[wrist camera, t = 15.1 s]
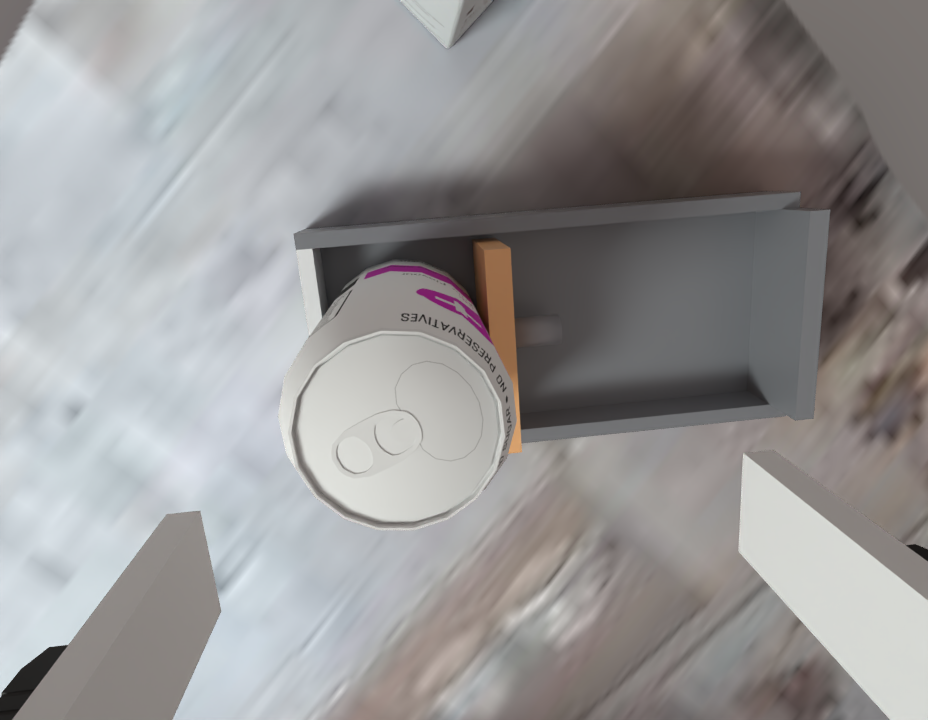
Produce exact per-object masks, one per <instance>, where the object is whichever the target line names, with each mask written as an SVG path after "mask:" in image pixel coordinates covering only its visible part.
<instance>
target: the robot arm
mask: <svg viewBox="0 0 928 720" xmlns="http://www.w3.org/2000/svg"><path fill="white" fill-rule="evenodd" d="M739 552H740V554H741V555H742V556H743V557H744V558H745V559H746V560H747V561H748V562H749V564H750V565H751V566H752V567H753V568H754V569H755V570H756V571H757V572H758V574H759V575H760V576H761V577H762V578H763V579H764V580H765V581H766V582H767V584H768V585H769V586H770V587H771V588H772V589H773V590H774V591H775V592H776V594H777V595H778V596H779V597H780V598H781V599H782V600H783V601H784V602H785V604H786V605H787V606H788V607H789V608H790V609H791V610H792V611H793V612H794V614H795V615H796V616H797V617H798V618H799V619H800V620H801V621H802V622H803V624H804V625H805V626H806V627H807V628H808V629H809V630H810V631H811V632H812V634H813V635H814V636H815V637H816V638H817V639H818V640H819V641H820V642H821V644H822V645H823V646H824V647H825V648H826V649H827V650H828V651H829V652H830V654H831V655H832V656H833V657H834V658H835V659H836V660H837V661H838V662H839V664H840V665H841V666H842V667H843V668H844V669H845V670H846V671H847V672H848V674H849V675H850V676H851V677H852V678H853V679H854V680H855V681H856V682H857V684H858V685H859V686H860V687H861V688H862V689H863V690H864V691H865V692H866V694H867V695H868V696H869V697H870V698H871V699H872V700H873V701H874V702H875V704H876V705H877V706H878V707H879V708H880V709H881V710H882V711H883V712H884V714H885V715H886V716H887V717H888V718H889V719H890V720H928V550H927V549H925V548H923V547H921V546H918V545H916V544H914V545H904V544H903V543H901V542H900V541H899V540H897V539H896V538H895V537H893V536H892V535H890V534H889V533H888V532H886V531H885V530H884V529H882V528H881V527H879V526H878V525H877V524H875V523H874V522H872V521H871V520H870V519H868V518H867V517H866V516H864V515H863V514H861V513H860V512H859V511H857V510H856V509H855V508H853V507H852V506H850V505H849V504H848V503H846V502H845V501H843V500H842V499H841V498H839V497H838V496H837V495H835V494H834V493H832V492H831V491H830V490H828V489H827V488H825V487H824V486H823V485H821V484H820V483H819V482H817V481H816V480H814V479H813V478H812V477H810V476H809V475H808V474H806V473H805V472H803V471H802V470H801V469H799V468H798V467H796V466H795V465H794V464H792V463H791V462H790V461H788V460H787V459H785V458H784V457H783V456H781V455H780V454H778V453H777V452H776V451H774V450H766V451H757V452H748V453H743V469H742V490H741V512H740V534H739ZM220 613H221V608H220V603H219V598H218V594H217V589H216V584H215V579H214V574H213V570H212V565H211V560H210V555H209V551H208V546H207V541H206V536H205V532H204V527H203V522H202V517H201V513H200V511H193V512H183V513H174V514H167V515H166V516H165V517H164V519H163V520H162V521H161V522H160V524H159V525H158V526H157V528H156V529H155V530H154V532H153V533H152V534H151V536H150V537H149V538H148V540H147V541H146V542H145V544H144V545H143V546H142V548H141V549H140V550H139V552H138V553H137V554H136V556H135V557H134V558H133V560H132V561H131V562H130V564H129V565H128V566H127V568H126V569H125V570H124V572H123V573H122V574H121V576H120V577H119V578H118V580H117V581H116V582H115V584H114V585H113V586H112V588H111V589H110V590H109V592H108V593H107V594H106V596H105V597H104V598H103V600H102V601H101V602H100V604H99V605H98V606H97V608H96V609H95V610H94V612H93V613H92V614H91V616H90V617H89V618H88V620H87V621H86V622H85V624H84V625H83V626H82V628H81V629H80V630H79V632H78V633H77V634H76V636H75V637H74V638H73V639H72V641H71V642H70V643H69V645H65V646H56V647H49V648H48V649H46V650H45V651H44V652H43V653H41V654H40V655H39V656H37V657H36V658H35V659H33V660H32V661H31V662H30V663H28V664H27V665H26V666H24V667H23V668H22V669H21V670H20V671H19V672H18V673H17V675H16V676H15V677H14V678H13V680H12V681H11V682H10V683H9V685H8V686H7V687H6V688H5V689H4V691H3V692H2V696H1V698H0V720H172V719H173V717H174V715H175V713H176V710H177V708H178V706H179V704H180V702H181V699H182V697H183V695H184V693H185V690H186V688H187V686H188V684H189V682H190V679H191V677H192V675H193V673H194V670H195V668H196V666H197V664H198V662H199V659H200V657H201V655H202V653H203V651H204V648H205V646H206V644H207V642H208V639H209V637H210V635H211V633H212V631H213V628H214V626H215V624H216V622H217V619H218V617H219V615H220Z"/></svg>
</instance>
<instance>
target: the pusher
mask: <svg viewBox="0 0 928 720" xmlns="http://www.w3.org/2000/svg"><path fill="white" fill-rule="evenodd" d="M472 245H473V259H474V273H475V287H476V301H477V312H478V314H479V316H480V318H481V320H482V322H483V324H484V326H485V328H486V330H487V332H488V334H489V336H490V338H491V340H492V342H493V344H494V346H495V348H496V350H497V352H498V354H499V356H500V358H501V360H502V362H503V364H504V366H505V368H506V370H507V372H508V374H509V376H510V378H511V380H512V382H513V390H514V400H515V409H516V418H517V422H516V426H515V430H514V434H513V437H512V441H511V445H510V449H509V452H508V454H509V453H518V452H522V446H521V428H520V410H519V392H518V374H517V356H516V348H521V347H531V346H542V345H553V344H561V342H562V325H561V320H560V317H559V315H558V314H555V315H544V316H533V317H522V318H514V301H513V283H512V265H511V248H510V247H508V246H506V245H505V244H503V243H502V242H500V241H499V240H497V239H496V238H483V239H472Z"/></svg>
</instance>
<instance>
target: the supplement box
mask: <svg viewBox="0 0 928 720" xmlns="http://www.w3.org/2000/svg"><path fill="white" fill-rule="evenodd" d="M400 1H401V2H402V3H403V4H404V5H405V7H406V8H407V9H408V10H409V11H410V12H411V13H412V14H413V15H414V16H415V17H416V18H417V19H418V20H419V21H420V22H421V23H422V24H423V25H424V26H425V27H426V28H427V29H428V30H429V31H430V32H431V33H432V34H433V35H434V37H435V38H436V39H437V40H438V41H439V42H440V43H441V44H442V45H443V46H444V47H445V48H447V49H449V48H451V47H452V46H453V45H454V44H455V42H456V41H457V40H458V39H459V38H460V37H461V36H462V35H463V33H464V32H465V31H466V30H467V29H468V28H469V27H470V26H471V25H472V23H473V22H474V21H475V20H476V19H477V18H478V17H479V16H480V15H481V13H482V12H483V11H484V10H485V9H486V8H487V7H488V6H489V5H490V4H491V2H492V1H493V0H400Z"/></svg>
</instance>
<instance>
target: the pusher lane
mask: <svg viewBox="0 0 928 720" xmlns="http://www.w3.org/2000/svg"><path fill="white" fill-rule="evenodd" d="M800 196H801V192H776V191H762V192H750V193H738V194H726V195H713V196H701V197H689V198H677V199H665V200H653V201H640V202H628V203H616V204H604V205H592V206H580V207H567V208H555V209H543V210H531V211H519V212H507V213H494V214H482V215H470V216H458V217H446V218H434V219H421V220H409V221H397V222H385V223H373V224H361V225H348V226H336V227H324V228H312V229H304V230H302V231H299V232H297V233H294V239H295V246H296V253H297V260H298V266H299V273H300V280H301V287H302V294H303V300H304V307H305V314H306V321H307V328H308V334H309V336H310V335H311V333H312V332H313V330H314V329H315V327H316V326H317V325H318V323H319V322H320V320H321V319H322V318H323V316H324V315H325V313H326V312H327V311H328V309H329V308H330V306H331V305H332V304H333V302H334V301H335V299H336V298H337V296H338V295H339V294H340V292H341V291H342V289H343V288H344V287H345V285H346V284H347V283H349V282H350V281H351V280H352V279H354V278H355V277H356V276H357V275H359V274H360V273H361V272H363V271H364V270H365V269H366V268H368V267H371V266H374V265H378V264H381V263H384V262H387V261H390V260H417V261H423V262H425V263H428V264H430V265H432V266H435V267H437V268H440V269H442V270H444V271H446V272H447V273H449V274H450V275H451V276H452V277H453V278H454V279H455V280H456V281H457V282H458V283H459V284H461V285H462V286H463V287H464V288H465V289H466V291H467V293H468V295H469V297H470V299H471V301H472V303H473V304H474V306H475V308H476V310H477V301H476V287H475V273H474V259H473V245H472V239H483V238H496V239H497V240H499V241H500V242H502V243H503V244H505V245H506V246H508V247H510V248H511V265H512V283H513V301H514V318H522V317H533V316H544V315H555V314H558V315H559V317H560V320H561V325H562V342H561V344H553V345H542V346H531V347H521V348H516V356H517V374H518V392H519V410H520V428H521V443H528V442H538V441H548V440H557V439H567V438H577V437H587V436H596V435H606V434H616V433H626V432H635V431H645V430H655V429H665V428H674V427H684V426H694V425H704V424H713V423H723V422H733V421H743V420H752V419H762V418H772V417H782V416H786V415H787V416H789V417H790V418H792V419H794V420H805V419H814V406H815V394H816V381H817V369H818V357H819V344H820V332H821V319H822V307H823V294H824V282H825V269H826V257H827V245H828V232H829V220H830V209H812V208H800Z"/></svg>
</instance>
